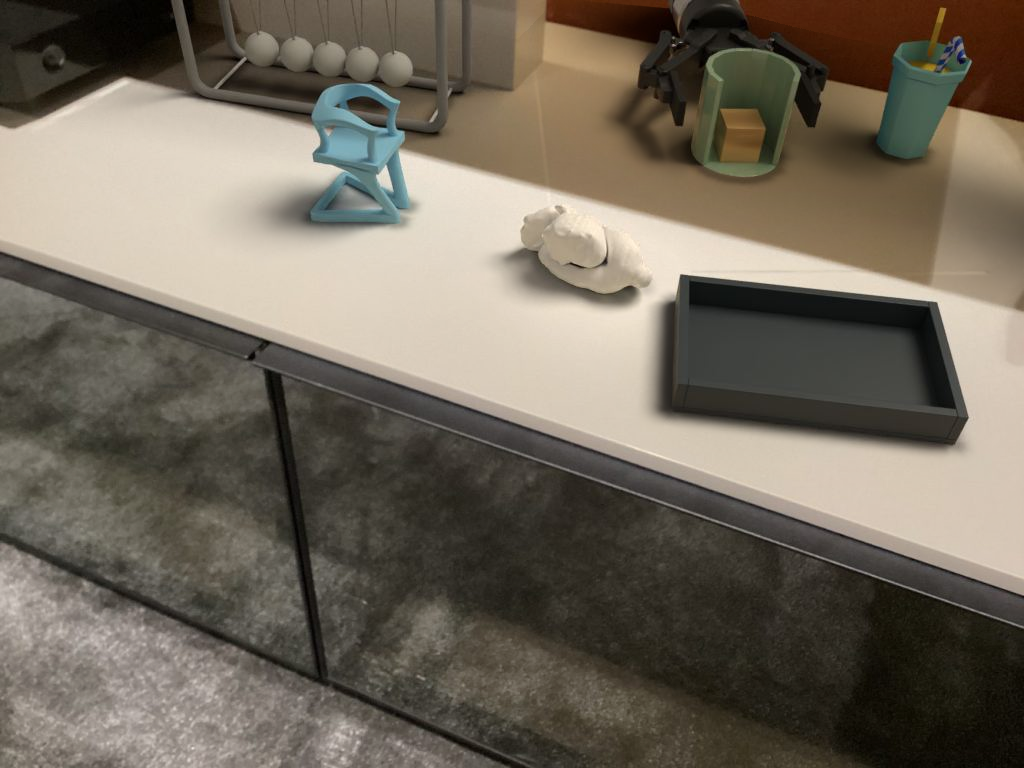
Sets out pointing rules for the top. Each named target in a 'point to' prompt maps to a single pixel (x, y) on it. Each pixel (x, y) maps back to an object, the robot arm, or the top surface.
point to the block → (739, 135)
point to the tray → (815, 359)
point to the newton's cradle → (336, 63)
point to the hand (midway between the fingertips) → (748, 115)
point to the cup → (920, 92)
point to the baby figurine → (584, 250)
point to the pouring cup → (745, 104)
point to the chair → (359, 155)
